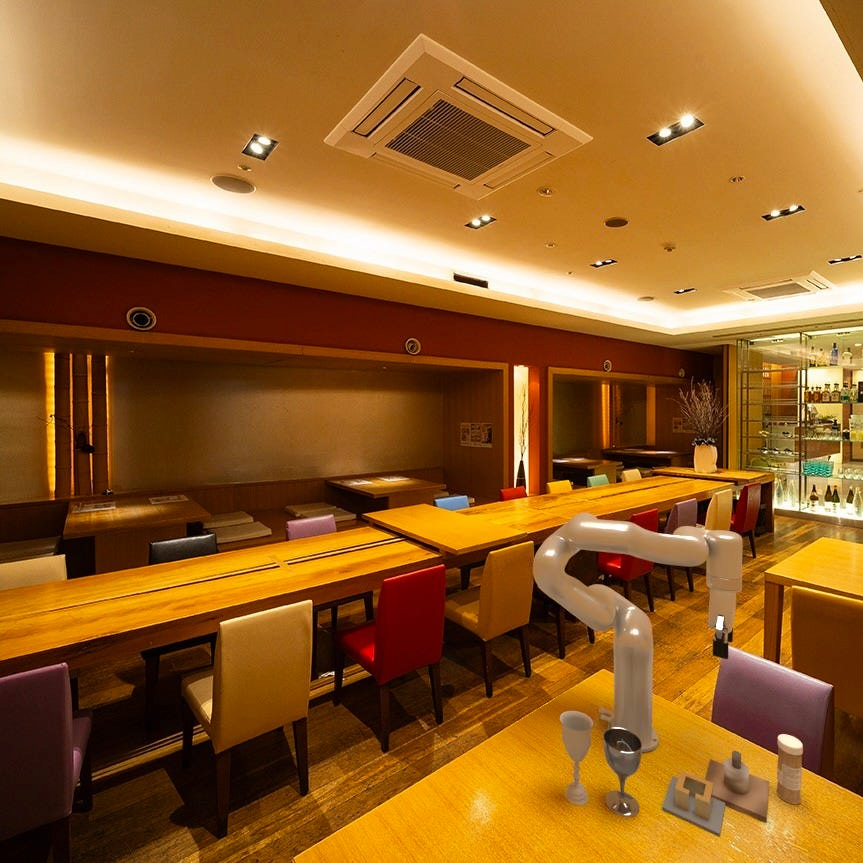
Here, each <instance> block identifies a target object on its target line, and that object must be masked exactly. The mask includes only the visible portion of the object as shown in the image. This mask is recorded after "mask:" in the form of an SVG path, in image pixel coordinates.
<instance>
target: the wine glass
mask: <svg viewBox="0 0 863 863" xmlns="http://www.w3.org/2000/svg"><path fill="white" fill-rule="evenodd" d="M602 740H603V742H602V743H603V751H604V756H605V761H606V763H607V765H608V766H609V768H610V769H611V770H612V771H613V773H615V775H616V776H617V777H618V781H619V782H618V783H619V788H620V790H611V791H609V792H607V794H606V795H605V800H604V801H605V804H606V806H607V807H608V809H609V810H610V811H611V812H613V813H614V814H616V815H618V816H620V817H623V818H633V817H636V816H637V815H638V814H639V812H640V803H638V801H637V799H636V798H635V797H634V796H632V795H631V794H630V793H628V792H625V786H626V781H627V780H628V778H629V777H632V776H633V775H635V773H637V771H638V770H639V768H640V765H641V760H642V754H643V752H642V743H641V740H640V738H639V737H638V736H637V735H636V734H634V733H633V732H631V731H629V730H627V729H623V728H610V729H608V728H607V729H606V730H604V732H603V739H602Z"/></svg>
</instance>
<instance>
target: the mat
mask: <svg viewBox="0 0 863 863" xmlns="http://www.w3.org/2000/svg"><path fill="white" fill-rule="evenodd" d="M677 780H678V777H676V776H673V775H671V779H670V782H669V785H668V788H667V791H666V794H665V796H664V800H663V803H662V806H661V810H662V811H664V812H666V813H668V814H670V815H673V816H674V817H677V818H679V819H681V820H683V821H685V822H688V823H689V824H692V825H695V826H696V827H699V828H701V829H702V830H704V831H707V832H709V833H712V834H714V835H715V836H718V837H720V836H721V831H722V826H723V820H724V815H725V809H726V805H725V802H722V801H720V800H718V799H715V798H713V804H712V809H711V814H710V819H709V821H708V820H705V819H703V818H701V817H699V816H696V815H695V797H694V796H692V795H690V808H689V812H688V811H685V810H683V809H681V808H679V807H677V806H675V787H676V784H677Z"/></svg>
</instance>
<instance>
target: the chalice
mask: <svg viewBox="0 0 863 863" xmlns="http://www.w3.org/2000/svg"><path fill="white" fill-rule="evenodd" d="M559 720H560V722H561V726H562V728H561V729H562V730H561V732H562V734H561V737H562V742H563V745H564V748H565V750H566V752H567V754H568V757H569V758H570V759H571V761H573V762H574V763H573V765H572V769H573V773H572V777H573V781H571V782H570V783H569V784H568V786H567V788H566V790H565V792H564V794H565V797H566V799H567V800H568V802H570V803H571V804H573V805H577V806H583V805H586V804H587V802H588V801H589V796H588V794H587V791H586V788H585V786H584V785H583V784H582V783H581V782H579V780H580V779H581V776H582V775H581V774H580V770H581V767H580V764H579V763H581V762H583V761H584V759H585V757H586V756H587V754H588V753H589V750H590V748H591V744H592V743H591V742H592V737H591V736H592V733H591V732H592V728H593V726H594V721H593V719H592V718H591V717H590V716H589V715H587V714H586V713H583V712H581V711H577V710H567V711H564V712H562V713H561V714H560V717H559Z"/></svg>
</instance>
